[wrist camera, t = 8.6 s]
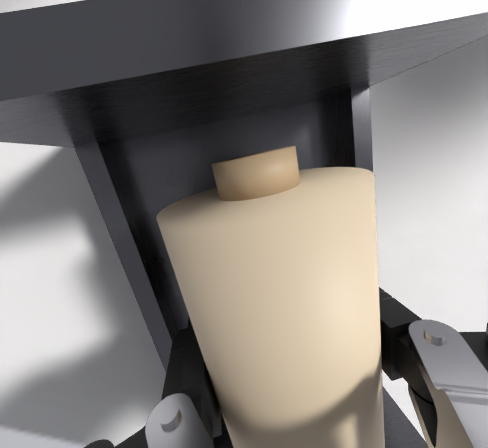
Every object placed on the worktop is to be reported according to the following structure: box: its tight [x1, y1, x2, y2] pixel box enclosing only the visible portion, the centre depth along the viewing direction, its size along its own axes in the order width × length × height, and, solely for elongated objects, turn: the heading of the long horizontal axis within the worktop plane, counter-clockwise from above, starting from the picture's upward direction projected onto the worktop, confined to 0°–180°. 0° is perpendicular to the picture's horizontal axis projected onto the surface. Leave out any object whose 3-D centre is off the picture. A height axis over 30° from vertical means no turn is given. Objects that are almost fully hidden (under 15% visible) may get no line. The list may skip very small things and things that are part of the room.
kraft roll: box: [156, 146, 385, 448], centre depth 9 cm, size 14×6×6 cm, turn 12°
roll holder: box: [0, 0, 488, 448], centre depth 10 cm, size 19×12×8 cm, turn 12°
